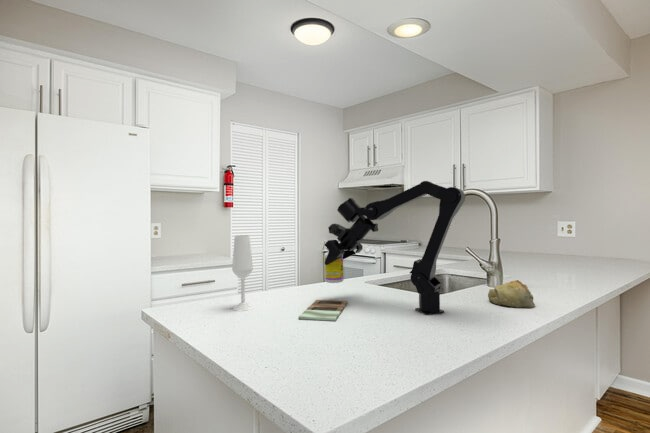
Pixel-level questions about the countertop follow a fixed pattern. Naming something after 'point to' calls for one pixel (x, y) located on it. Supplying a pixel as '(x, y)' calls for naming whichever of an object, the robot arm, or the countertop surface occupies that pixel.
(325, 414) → the countertop surface
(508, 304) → the pastry
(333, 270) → the supplement bottle
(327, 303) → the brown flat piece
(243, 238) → the champagne flute
